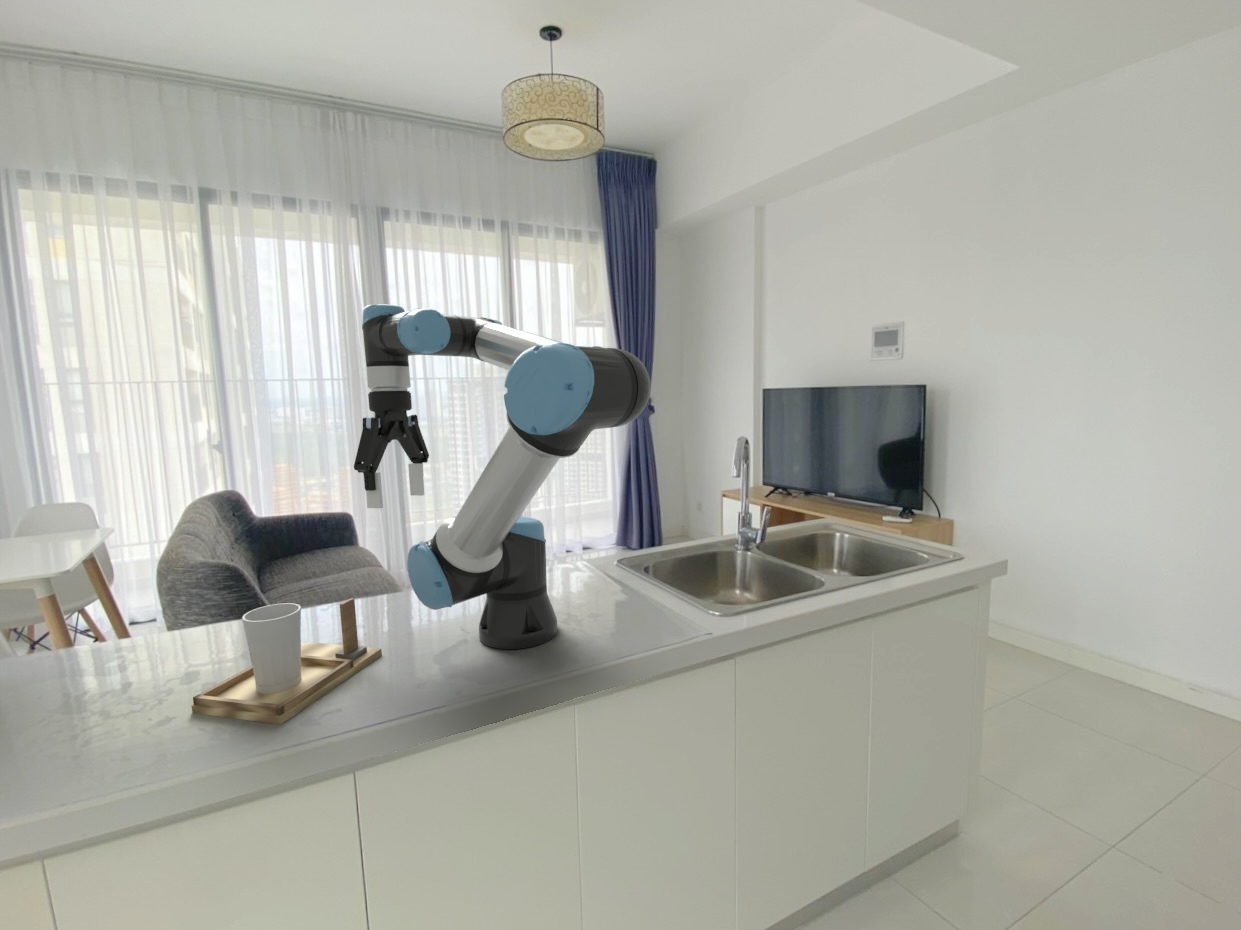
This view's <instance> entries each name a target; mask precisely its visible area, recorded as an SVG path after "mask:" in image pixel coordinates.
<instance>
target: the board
mask: <svg viewBox="0 0 1241 930" xmlns="http://www.w3.org/2000/svg"><path fill="white" fill-rule="evenodd" d="M355 601H356V600H355V598H353V597H351V598H349V599H347V600H344V601H343V602H341V603H339V612H340V613H339V614H340V624H341V635H342V636H341V638H342V644H336V643H335V644H332V643H320V642H309V641H307V642H305V643H303V644H301V678H302V680H301V682H300V683H299V684H298V685H296V686H295V687H293V688H291V689H288V690H286V691H282V692H278V693H273V694H261V693H258V692H257V691H256V684H255V678H254V673H253V668H252V665H251V666H249V667H247V668H245V669H243V670H241V671H239V672H238V673H236V674H234V675H232V676H230V677H228V678H225V679H224V680H223V681H221V682H219V683H217V684H215V685H212V686H211V687H209V688H207V689H206V690H204V691H202V692H201V693H198V694H197V695H194V696H193V697H192V703H193V704H192V705H191V712H192V714H196V715H198V714H199V715H205V716H213V717H220V718H228V719H235V720H236V719H237V720H245V721H252V722H258V723H268V724H275V725H282V724H284V723H286V721H288V720H289V719H291V718H292V717H294V716H296V715H297V714H298V713H300V712H301V711H303V710H304V709H305V708H307V707H308V706H310V705H312V704H313V703H315V701H317V700H318V699H320V698H321V697H323V696H325V695H326V694H328V693H329V692H330V691H332V690H333V689H335V688H337V687H338V686H339V685H340V684H342V683H344V682H345V681H346V680H347V679H349V678H350V677H352V676H353V675H355V674H356V673H358V672H359V671H360V670H362V669H364V668H365V667H367V666H368V665H369V664H371V663H372V662H374V661H375V660H377V659H378V658H380V657H381V656H382V655H383V653H382V648H379V647H369V646H368V647H367V645H366V646H364V645H359V639H358V627H357V615H356V603H355Z"/></svg>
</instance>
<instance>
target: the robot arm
mask: <svg viewBox="0 0 1241 930" xmlns="http://www.w3.org/2000/svg"><path fill="white" fill-rule="evenodd" d="M361 328H362V335H363V346H364V356H365V367H366V377H367V378H366V379H367V388H368V389H369V390H371V391H369V392H368V393H367V397H368V409H369V411H370V412H374V416H364V417H363V418H362V431H361V435H360V438H359V439H360V440H359V443H358V447H357V448H358V449H357V451H356V455H355V461H354V464H353V469H354V471H357V472H358V473H363V474H362V475H363V482H364V483H363V484H364V489H365V493H366V494H365V495H366V507H367V509H382V508H384V504H383V489H382V476H381V474H382V473H381V471H378V469H379V466H380V464H381V462H382V458H383V456H384V454H385V452H386V449H387V447H388V445H389V444H390V443H391V442H392V441H394V440H396V441H397V442H398V443H399V444H400V446H401V448H402V449H403V451H404V452H405V454H406V456H407V457H408V460H409V461H410V463H408V477H409V480H408V481H409V493H410V496H419V497H420V496H425V485H424V484H425V482H424V464H425V463H428V462H429V457H430V453H429V451H428V448H427V445H426V443H425V440H424V436H423V434H422V431H421V429H420V425H419V420H418V419H419V418H418V415H417V414H408V413H407V411H411V410H412V409H413V408H412V407H413V406H412V405H413V404H412V403H413V402H412V392H410V390H408V389H410V388H411V386H412V385H411V375H410V367H409V366H410V363H409V356H437V357H438V356H441V357H463V358H472V359H475V360H478V361H481V362H485V363H488V364H489V365H490V364H491V365H493V366H495V367H499V368H501V369H504V370H507V371H508V373H507V374H506V377H505V381H504V388H506V393H503V400H504V401H503V402H504V406H505V411H506V415H505V416H506V419H507V423H508V425H509V427H508V429H507V430H506V432H505V434H504V436H503V437H502V439H501V440H500V442H499V444H498V446H497V448H496V449H495V451H494V452H493V454H492V455H491V458H489V461H488V462H487V464H486V466H485V467H484V469H483V470H482V473H481V474H480V476H479V478H478V479H477V481H476V482H475V485H474V486H473V487H472V489H471V491H470V493H469V494H468V496H467V498H466V499H465V502H463V505H462V506H461V507H460V510H459V511H458V513H456V515H455V516H452V517H450V518H447V519H446V520H444V521H443V522H442V523H441V524H440V525H439V526H438V529H437V530H436V532H435V534H434V535H433V537H432V538H431V539H430V540H428V541H419V542H417V543H416V544H414V545H412V546H411V547H410V548H409V550H408V552H407V556H406V565H407V566H406V568H407V574H408V578H409V583H410V585H411V587H412V590H413V592H414V594H415V595H416V597H417V599H418V601H419V602H420V603H422V605H423V606H425V607H426V608H428V609H430V610H434V611H435V610H441V609H444V608H452V607H453V606H454V605H457V604H460V603H464V602H466V601H469V600H472V599H475V598H478V597H480V596H484V595H486V599H485V602H484V606H483V609H482V613H481V616H480V621H479V624H478V637H479V641H480V642H481V643H482V644H483V645H485V646H488V647H490V648H494V649H501V650H518V649H519V650H520V649H527V648H531V647H535V646H539V645H542V644H545V643H546V642H549V641H550V640H551V639H553V638H554V637H555V636H557V633H558V630H559V629H558V619H557V618H558V617H557V615H556V613H555V610H554V607H553V605H552V603H551V600H550V599H551V598H550V597H549V593H548V590H547V589H548V586H547V558H546V557H547V555H546V554H547V553H546V548H547V547H546V542H547V540H546V538H545V528H544V524H543V522H541V520H539V519H537V518H533V517H526V516H522V514H523V513H524V511H525V510H526V508H527V507H528V505H529V504H530V503H531V501H532V500H533V498H534V496H535V495H536V494H537V492H538V491H539V490H540V488H541V487H542V485H543V483H544V482H545V480H546V479H547V478H548V476H549V475H550V473H551V471H552V470H553V469H554V467H555V466H556V464H557V463H558V461H559V460H560V459H564V458H565V459H566V458H569V457H573V456H574V455H575V454H576V453H577V452H578V451H579V450H580V449H581V446H583V444H584V442H585V441H586V440H587V438H588V437H589V436H590V434H591V433H592V432H593V431H595V430H602V429H611V428H618V427H622V426H624V425H628V424H629V423H631V422H633V421H634V420H635V419H637V418H638V417H639V416H640V415H641V414H642V413H643V411H644V410H645V408H646V406H647V404H648V402H649V399H650V395H651V387H652V386H651V379H650V375H649V373H648V371H647V367H646V366H645V365H644V364H643V362H642V361H641V359H639V358H638V357H637V356H636V355H634V354H633V353H631V352H629V351H627V350H624V349H621V348H616V347H603V346H598V345H597V346H596V345H594V346H582V345H581V346H579V345H574V344H571V343H566V342H563V341H559V340H555V339H552V338H548V337H545V336H543V335H542V336H541V335H538V334H534V333H531V332H527V331H525V330H521V329H517V328H514V327H512V326H511V327H510V326H507V325H505V324H504V325H503V323H502V322H501V321H499V320H496V319H492V318H488V317H472V316H464V315H455V314H454V315H453V314H448V313H446V314H445V313H440V312H439V311H438V310H436V309H432V308H414V309H410V310H409V311H405V309H404V308H403V306H400V305H397V304H388V303H386V304H385V303H380V304H379V303H377V304H368V305H366V306H364V307H363V310H362V325H361Z"/></svg>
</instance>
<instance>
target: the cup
mask: <svg viewBox="0 0 1241 930" xmlns="http://www.w3.org/2000/svg"><path fill="white" fill-rule="evenodd" d="M301 612H302V607H301V605H300V604H297V603H294V602H293V603H292V602H291V603H290V602H286V603H285V602H284V603H281V602H280V603H275V604H268V605H264V606H261V607H257V608H254V609H251V610H250V611H247V612H246V613H245V614H243V616H241V618H242V623H243V628H244V633H245V636H246V637H245V638H246V642H247V647H248V652H249V657H250V662H251V666H252V668H253V673H254V678H255V684H256V691H257V692H258V693H261V694H273V693H278V692H282V691H286V690H288V689H291V688H293V687H295V686H296V685H298V684H299V683H300V682H301V680H302V678H301V645H302V643H301V641H302V639H301V638H302V636H301V635H302V634H301V631H302V630H301V627H302V626H301V625H302V623H301V621H302V615H301V614H302V613H301Z"/></svg>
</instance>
